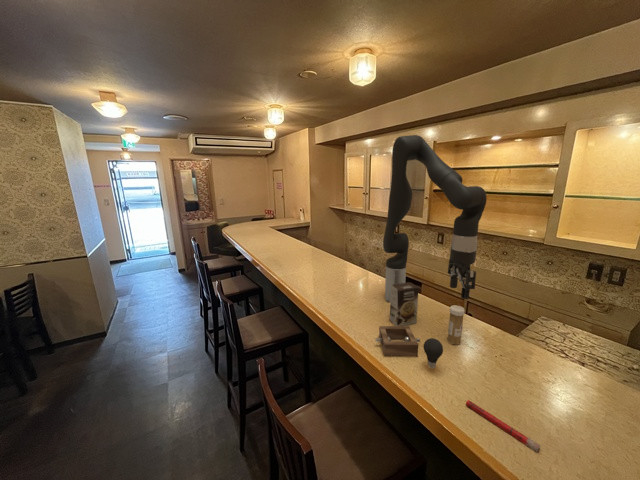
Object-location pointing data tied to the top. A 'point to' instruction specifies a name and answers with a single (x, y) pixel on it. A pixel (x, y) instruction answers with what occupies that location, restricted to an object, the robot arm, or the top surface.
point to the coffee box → (403, 304)
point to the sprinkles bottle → (455, 324)
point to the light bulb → (433, 351)
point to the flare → (504, 426)
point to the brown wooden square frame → (398, 347)
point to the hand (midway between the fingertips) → (458, 292)
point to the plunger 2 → (409, 339)
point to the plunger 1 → (382, 339)
